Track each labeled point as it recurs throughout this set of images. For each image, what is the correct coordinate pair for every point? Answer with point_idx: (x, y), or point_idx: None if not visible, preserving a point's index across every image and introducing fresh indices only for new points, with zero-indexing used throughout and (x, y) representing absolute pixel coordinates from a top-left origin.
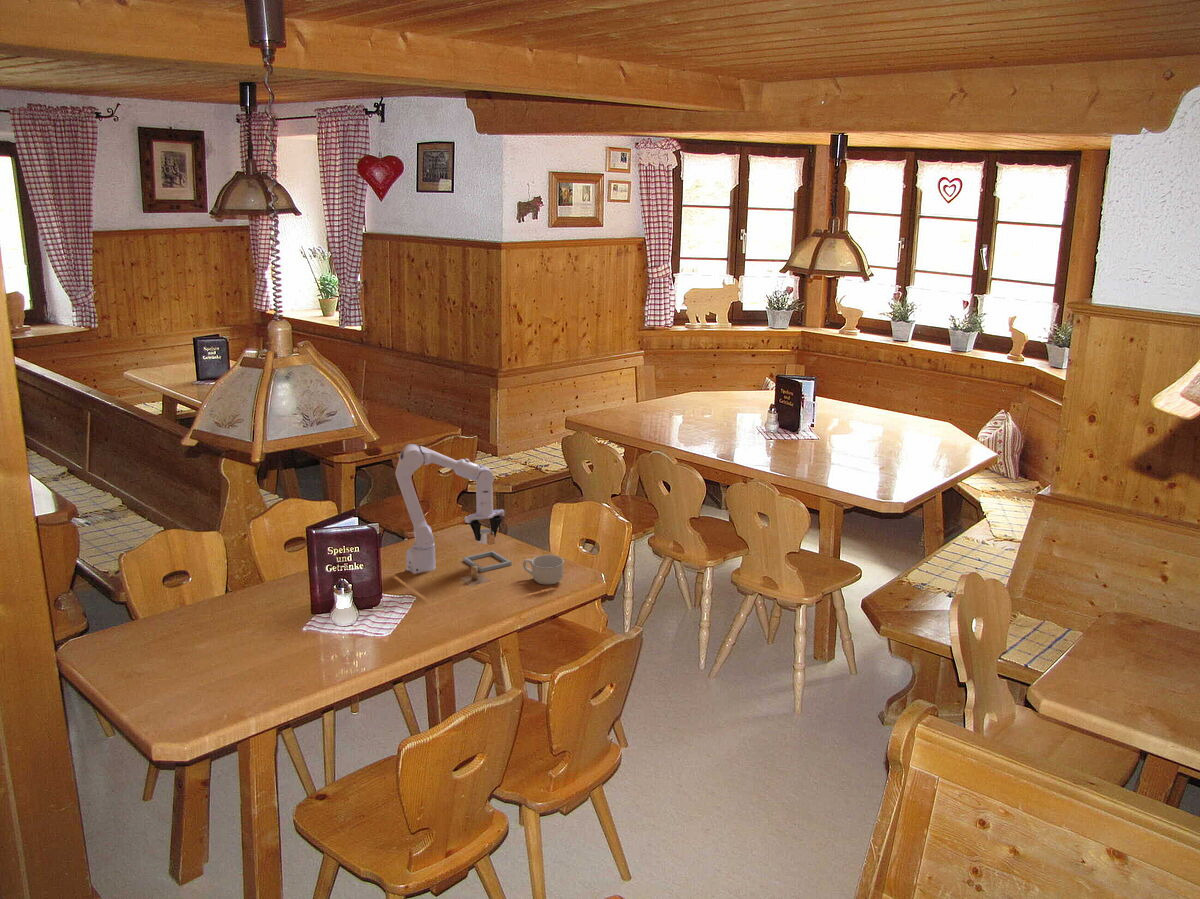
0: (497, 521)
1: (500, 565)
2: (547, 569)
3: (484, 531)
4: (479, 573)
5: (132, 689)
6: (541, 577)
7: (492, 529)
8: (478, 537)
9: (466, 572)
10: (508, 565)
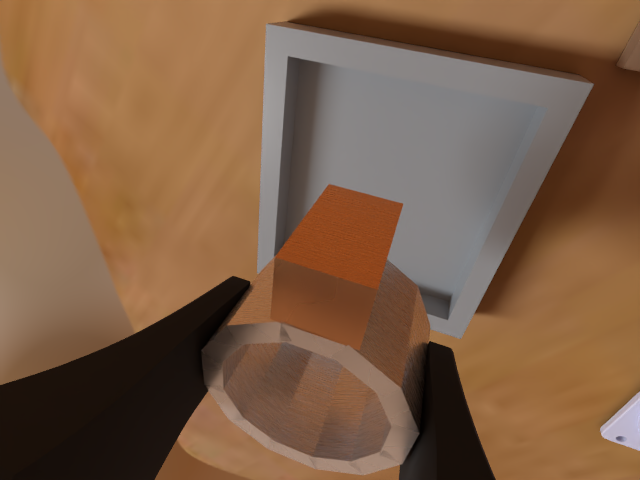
0: (22, 442)
1: (376, 43)
2: None
3: (280, 411)
4: (627, 63)
5: None
6: None
7: (199, 372)
8: (458, 386)
9: (605, 200)
10: (305, 28)
